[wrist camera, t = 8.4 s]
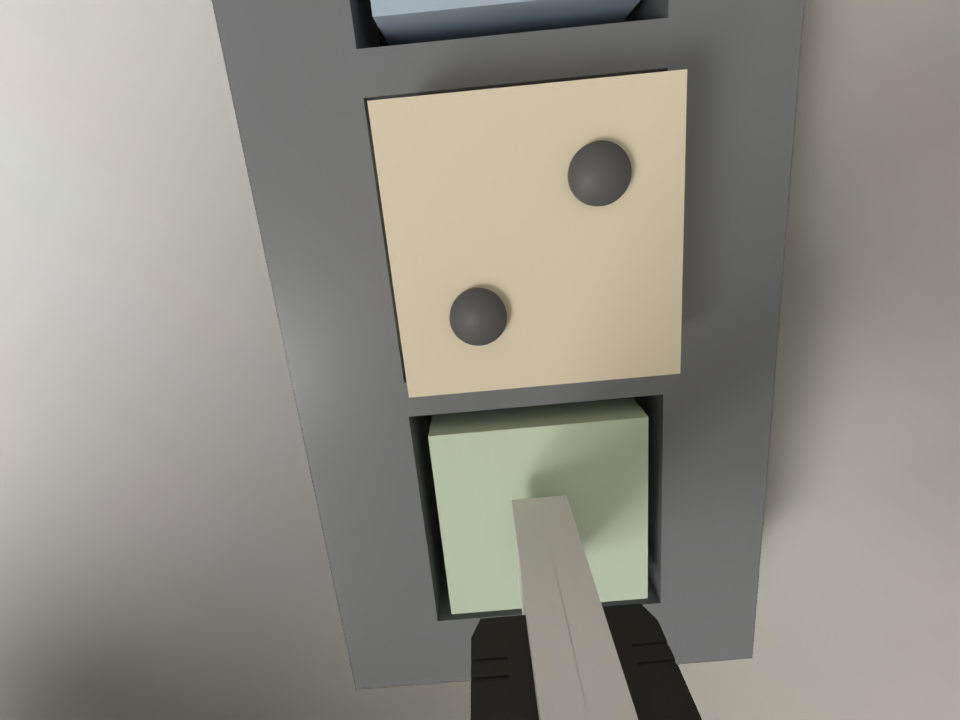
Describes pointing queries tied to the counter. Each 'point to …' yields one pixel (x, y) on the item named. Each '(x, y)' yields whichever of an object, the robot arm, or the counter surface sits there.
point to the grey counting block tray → (405, 423)
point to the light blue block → (488, 17)
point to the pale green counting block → (541, 493)
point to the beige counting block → (535, 231)
